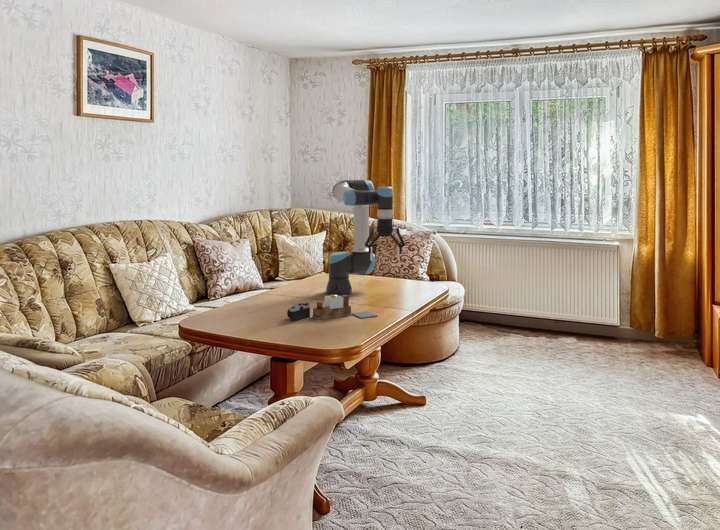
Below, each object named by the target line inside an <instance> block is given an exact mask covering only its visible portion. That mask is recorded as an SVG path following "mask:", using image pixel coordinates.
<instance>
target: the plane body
mask: <svg viewBox="0 0 720 530" xmlns="http://www.w3.org/2000/svg"><path fill="white" fill-rule="evenodd" d="M341 296H342V297H343V307H342V308H334V309H329V308H327V307H325V306H323V302H324V301H317V302H316V306H315V307H312V315H311V316H312V317H311V318H313V319H315V320H323V319H333V318H339V317H347V316H353V315H352V306H351V305H349V304H350V303H349V301H350V299H349V298H350V297H349V295H348V294H343V295H341Z"/></svg>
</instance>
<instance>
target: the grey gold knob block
mask: <svg viewBox="0 0 720 530" xmlns="http://www.w3.org/2000/svg"><path fill="white" fill-rule="evenodd" d="M324 307H327V308H329V309H334V308H342V307H343V297H342V295H335V294H330V295H324Z"/></svg>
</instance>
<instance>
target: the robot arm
mask: <svg viewBox="0 0 720 530" xmlns="http://www.w3.org/2000/svg"><path fill="white" fill-rule="evenodd" d="M393 190H394V189H393V187H392V186H378V187H377V189H375V187H374V184H373V182H372V181H371V180H369V179H368V180H367V179H357V180H356V179H346V180H345V179H344V180H340V181H339V182H337V183H335V184H334V185H333V187H332V196H333V197H334V198H335V199H336V200H339V201H343V204H344V205H345V206H349V207H350V206H351V207H352V206H353V232H354V233H353V237H354V238H353V240H354V242H353V244H354V245H353V246H354V247H353V249H352V250H351V253H349V251H337V252H333V253H330V254H329V256H328V262H327V263H328V281H327V283H326V284H327V285H326V288H325V293H326V294H328V295H333V294H335V295H339V296H342V295H348V294H351V293H352V292H353V288H352V285H351V281H350V275H359V274H363V275H364V274H365V275H366V274H370V273H372V272H374V269H375V264H376V256H375V253H373V245H374V244H375V242H376V241H378V239H379V238H380V237H382V238H384V237H387V238H389V237H390V238H391V239H392V241H394V242H395V244H396V245H397V247H396V249H397V250H396V251H397V252H396V253H397V254H396V259H397V260H396V261H399V262H400V255H402V248H403V247H405V246H406V243H405V241H404V239H403V236H402V235H401V233H400V229H399V228H400V227H393V216H394V215H393V214H394V213H393V212H394V211H393V210H394V209H393V208H394V207H393V204H394V200H393V199H394V192H393ZM370 206H377V215H376V216H377V221H376V222H377V227H376V228H374V227H371V229H370V213H369V212H370V210H369V209H370ZM375 232H376V233H377V234H376V236H375V237H374V238H373V239H372V237H373V234H374V233H375ZM393 232H395V233H396V235H397V237H398V240H397V239H396V237H395V236H394V235H393ZM371 239H372V240H371ZM370 241H371V242H370ZM399 241H400V242H399Z"/></svg>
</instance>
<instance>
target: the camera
mask: <svg viewBox="0 0 720 530" xmlns="http://www.w3.org/2000/svg"><path fill="white" fill-rule="evenodd" d="M286 312H287V314H286V315H287V317H288V318H289V322H290V323H297V322H300V321H303V320H307V319H311V304H310V302H301V301H300V302H295V303H293V304H292V306H291V307H289V308H288V310H287V311H286Z"/></svg>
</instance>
